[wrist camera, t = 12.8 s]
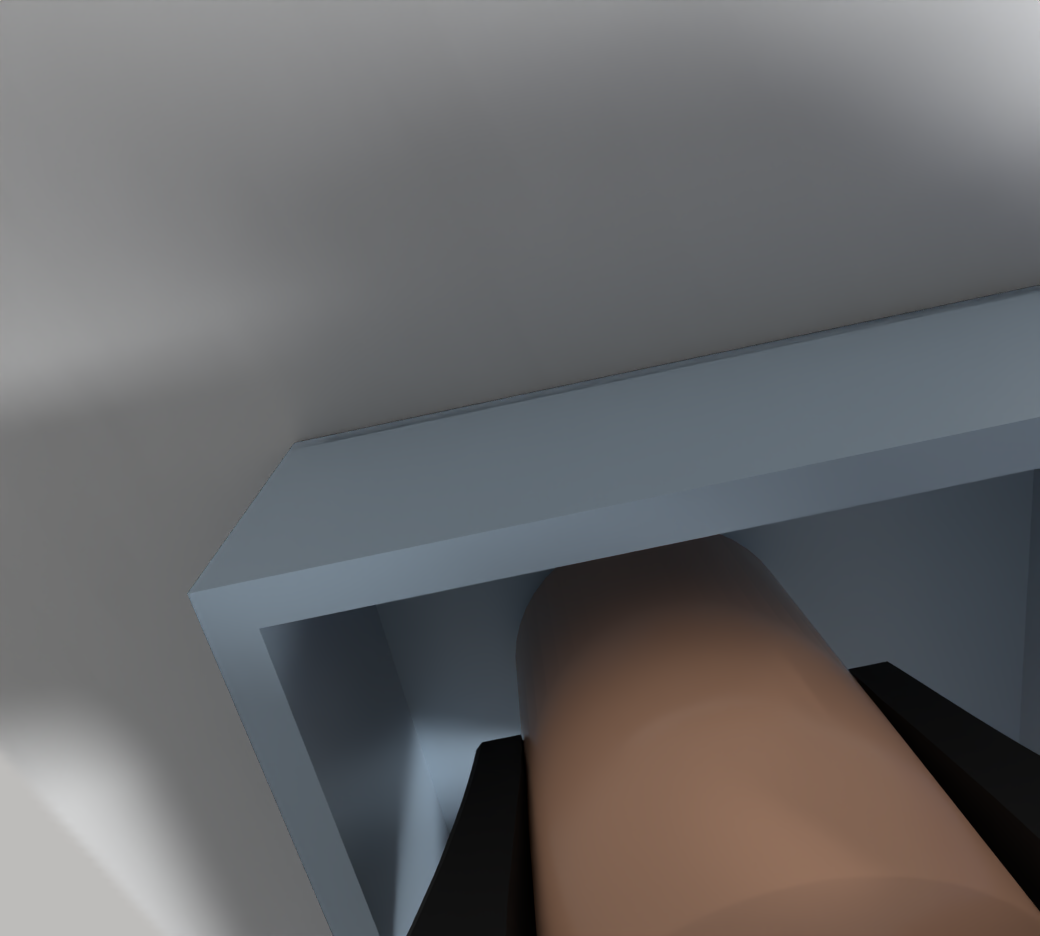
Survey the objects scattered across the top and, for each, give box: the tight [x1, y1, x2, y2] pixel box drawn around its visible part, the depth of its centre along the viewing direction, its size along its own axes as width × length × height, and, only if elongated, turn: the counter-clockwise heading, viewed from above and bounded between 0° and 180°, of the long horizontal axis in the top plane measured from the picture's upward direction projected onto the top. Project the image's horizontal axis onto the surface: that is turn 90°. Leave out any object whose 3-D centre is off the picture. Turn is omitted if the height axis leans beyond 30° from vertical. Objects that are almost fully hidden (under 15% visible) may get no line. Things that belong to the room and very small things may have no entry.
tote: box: [187, 285, 1040, 936], centre depth 13 cm, size 13×17×5 cm
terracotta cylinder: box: [515, 534, 1040, 936], centre depth 10 cm, size 5×5×7 cm
